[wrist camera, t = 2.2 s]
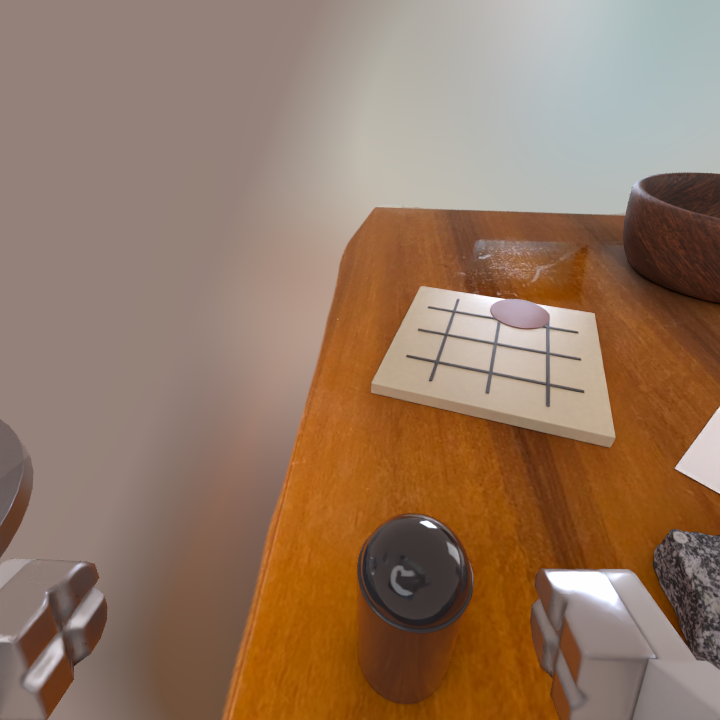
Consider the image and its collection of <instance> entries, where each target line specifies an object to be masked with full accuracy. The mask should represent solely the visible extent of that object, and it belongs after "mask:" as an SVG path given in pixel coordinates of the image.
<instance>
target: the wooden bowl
mask: <svg viewBox="0 0 720 720" xmlns="http://www.w3.org/2000/svg"><path fill="white" fill-rule="evenodd" d="M623 242H624V249H625V253H626V256H627V259H628V261H629V263H630V264H631V265H632V267H633V268H634V269H635V270H636V271H637V272H638V273H640V274H641V275H642V276H644V277H646V278H647V279H649V280H651V281H653V282H654V283H656V284H659V285H661V286H663V287H665V288H668V289H670V290H673V291H676V292H678V293H681V294H684V295H688V296H691V297H695V298H698V299H702V300H707V301H711V302H716V303H720V174H712V173H666V174H658V175H652V176H648V177H645V178H642V179H640V180H639V181H637V182H636V183H635V184H634V186H633V187H632V190H631V194H630V197H629V201H628V206H627V211H626V216H625V221H624V231H623Z"/></svg>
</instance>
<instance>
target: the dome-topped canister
mask: <svg viewBox="0 0 720 720" xmlns="http://www.w3.org/2000/svg"><path fill="white" fill-rule="evenodd" d="M473 583H474V580H473V571H472V566H471V564H470V561H469V558H468V556H467V553H466V550H465V548H464V546H463V544H462V543H461V541H460V539H459V538H458V537H457V535H456V534H455V533H454V532H453V531H452V530H451V529H450V528H449V527H448V526H447V525H446V524H444V523H443V522H441V521H440V520H438V519H436V518H434V517H431V516H429V515H425V514H420V513H404V514H399V515H396V516H393V517H391V518H389V519H387V520H386V521H384V522H383V523H381V524H380V525H379V526H378V527H377V528H376V529H375V530H374V531H373V533H372V534H371V535H370V536H369V537H368V539H367V540H366V541H365V543H364V545H363V547H362V549H361V551H360V554H359V558H358V564H357V646H358V659H359V664H360V667H361V670H362V672H363V674H364V676H365V678H366V680H367V681H368V683H369V684H370V686H371V687H372V688H373V689H374V690H375V691H376V692H377V693H378V694H380V695H381V696H382V697H384V698H386V699H388V700H390V701H392V702H395V703H400V704H413V703H418V702H421V701H423V700H425V699H427V698H428V697H430V696H431V695H432V694H433V693H434V692H435V691H436V690H437V689H438V688H439V686H440V685H441V683H442V681H443V679H444V677H445V674H446V672H447V669H448V666H449V663H450V660H451V657H452V654H453V651H454V648H455V645H456V642H457V639H458V636H459V633H460V630H461V627H462V624H463V621H464V618H465V615H466V612H467V609H468V606H469V603H470V600H471V597H472V592H473Z"/></svg>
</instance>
